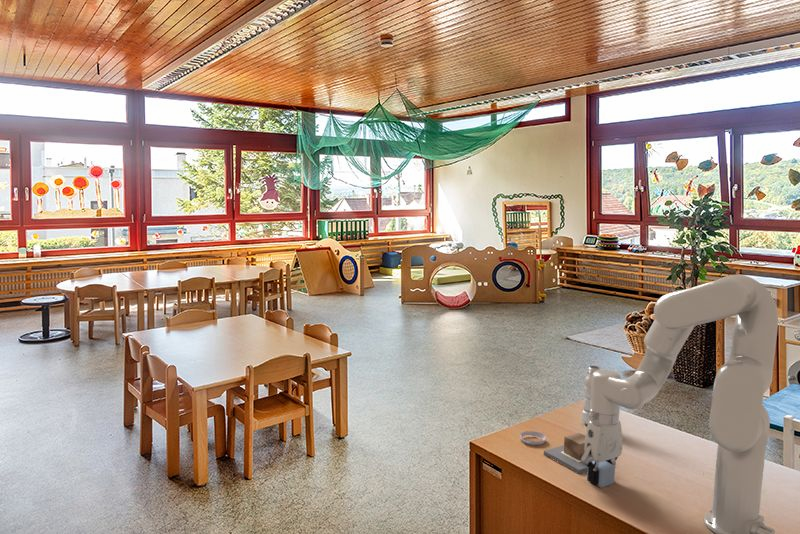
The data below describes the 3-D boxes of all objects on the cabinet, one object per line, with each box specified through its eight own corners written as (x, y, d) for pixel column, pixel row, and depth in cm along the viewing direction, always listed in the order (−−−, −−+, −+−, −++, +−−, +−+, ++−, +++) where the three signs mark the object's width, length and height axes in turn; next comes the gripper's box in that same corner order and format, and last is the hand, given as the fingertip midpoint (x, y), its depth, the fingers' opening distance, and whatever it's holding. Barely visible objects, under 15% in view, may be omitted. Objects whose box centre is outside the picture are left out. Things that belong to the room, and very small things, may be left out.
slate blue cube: (614, 483, 160) (615, 465, 159) (601, 487, 157) (602, 469, 157) (599, 475, 164) (600, 458, 163) (586, 479, 162) (587, 462, 161)
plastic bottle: (587, 418, 205) (590, 363, 203) (605, 424, 200) (608, 367, 198) (577, 423, 201) (580, 366, 199) (594, 429, 196) (598, 371, 194)
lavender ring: (550, 442, 186) (551, 436, 186) (536, 449, 181) (536, 443, 181) (529, 434, 192) (529, 429, 192) (515, 441, 187) (515, 435, 186)
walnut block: (593, 456, 173) (594, 440, 172) (578, 460, 170) (579, 444, 169) (578, 448, 178) (579, 432, 177) (563, 452, 175) (564, 436, 174)
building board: (613, 463, 172) (613, 458, 171) (578, 473, 165) (579, 469, 165) (577, 445, 184) (577, 440, 184) (543, 454, 177) (543, 450, 177)
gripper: (592, 427, 151) (588, 494, 153) (637, 415, 159) (632, 479, 162) (570, 417, 157) (567, 481, 160) (614, 406, 166) (611, 467, 168)
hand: (600, 479), depth 161 cm, fingers closed on slate blue cube, 4 cm apart
